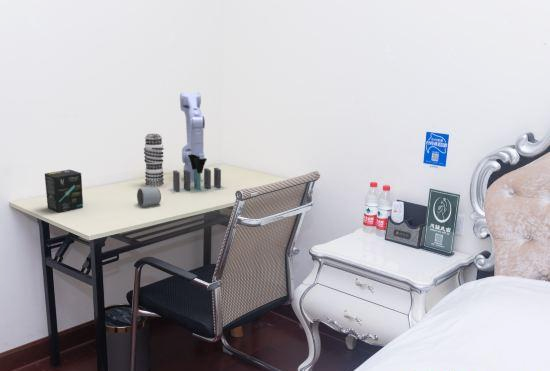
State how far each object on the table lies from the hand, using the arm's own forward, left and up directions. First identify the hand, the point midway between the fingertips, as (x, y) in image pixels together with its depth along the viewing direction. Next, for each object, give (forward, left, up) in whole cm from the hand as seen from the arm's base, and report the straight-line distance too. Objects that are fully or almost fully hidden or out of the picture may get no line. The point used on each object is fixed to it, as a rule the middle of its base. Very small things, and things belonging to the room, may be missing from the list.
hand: (197, 171), depth 244 cm
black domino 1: (0, -10, -8) cm, 13 cm away
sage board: (0, 0, -9) cm, 9 cm away
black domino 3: (0, +5, -8) cm, 10 cm away
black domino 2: (0, -5, -8) cm, 10 cm away
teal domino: (0, 0, -8) cm, 8 cm away
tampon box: (+11, -59, -9) cm, 61 cm away
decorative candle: (-13, -17, -9) cm, 23 cm away
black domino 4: (0, +10, -8) cm, 13 cm away
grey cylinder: (+17, -27, -9) cm, 33 cm away
